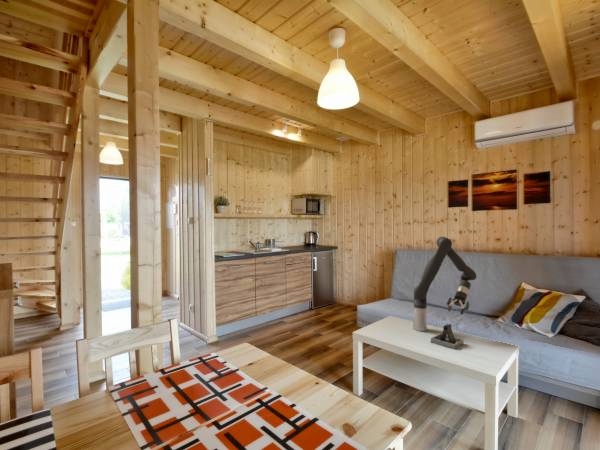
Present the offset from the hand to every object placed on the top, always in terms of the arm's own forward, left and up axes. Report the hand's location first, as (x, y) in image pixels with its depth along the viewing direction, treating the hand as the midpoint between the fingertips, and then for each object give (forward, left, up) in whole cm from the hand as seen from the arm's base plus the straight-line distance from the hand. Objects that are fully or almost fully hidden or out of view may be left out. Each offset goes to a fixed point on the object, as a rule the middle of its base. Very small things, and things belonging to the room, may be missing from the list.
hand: (454, 312), depth 222 cm
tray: (0, -14, -18) cm, 23 cm away
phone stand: (+1, -14, -18) cm, 22 cm away
